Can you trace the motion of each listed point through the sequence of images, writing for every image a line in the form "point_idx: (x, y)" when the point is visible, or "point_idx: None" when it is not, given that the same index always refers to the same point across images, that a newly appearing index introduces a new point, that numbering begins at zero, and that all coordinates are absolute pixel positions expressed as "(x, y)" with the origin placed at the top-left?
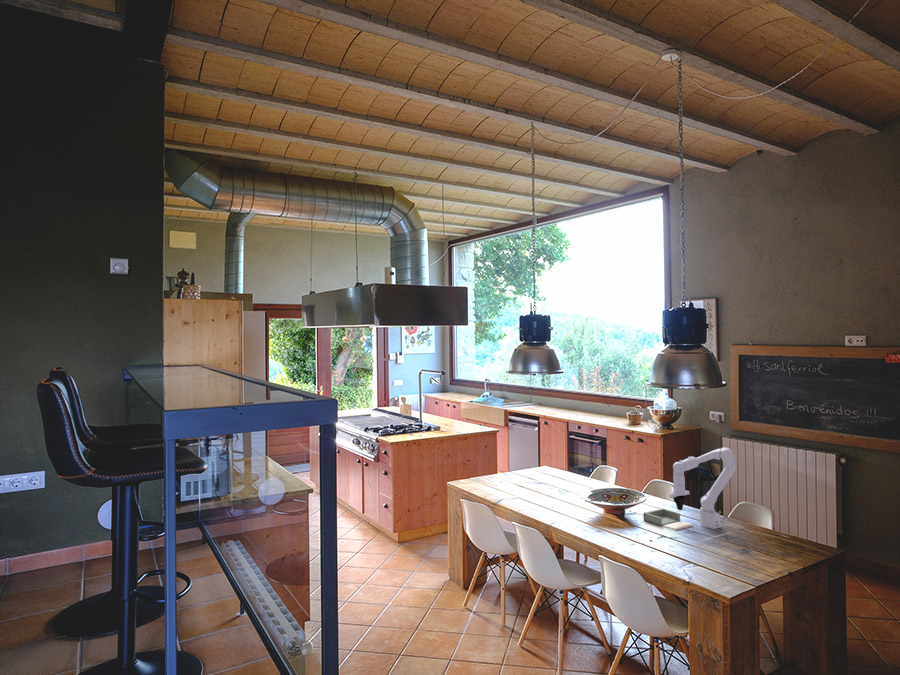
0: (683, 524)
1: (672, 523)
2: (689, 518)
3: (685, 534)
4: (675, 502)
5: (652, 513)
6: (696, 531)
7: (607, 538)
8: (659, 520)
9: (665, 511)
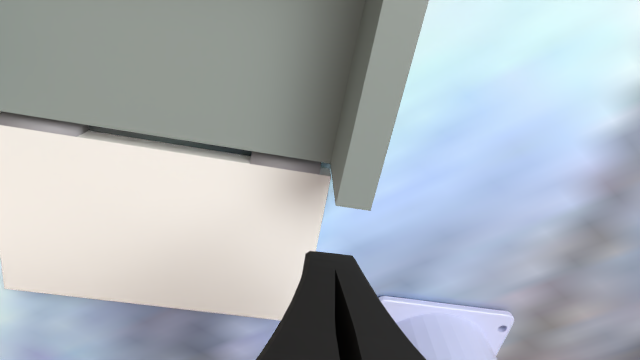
0: (217, 268)
1: (166, 161)
2: (608, 135)
3: (68, 334)
4: (269, 340)
5: None
6: (225, 349)
7: None
8: None
9: None
